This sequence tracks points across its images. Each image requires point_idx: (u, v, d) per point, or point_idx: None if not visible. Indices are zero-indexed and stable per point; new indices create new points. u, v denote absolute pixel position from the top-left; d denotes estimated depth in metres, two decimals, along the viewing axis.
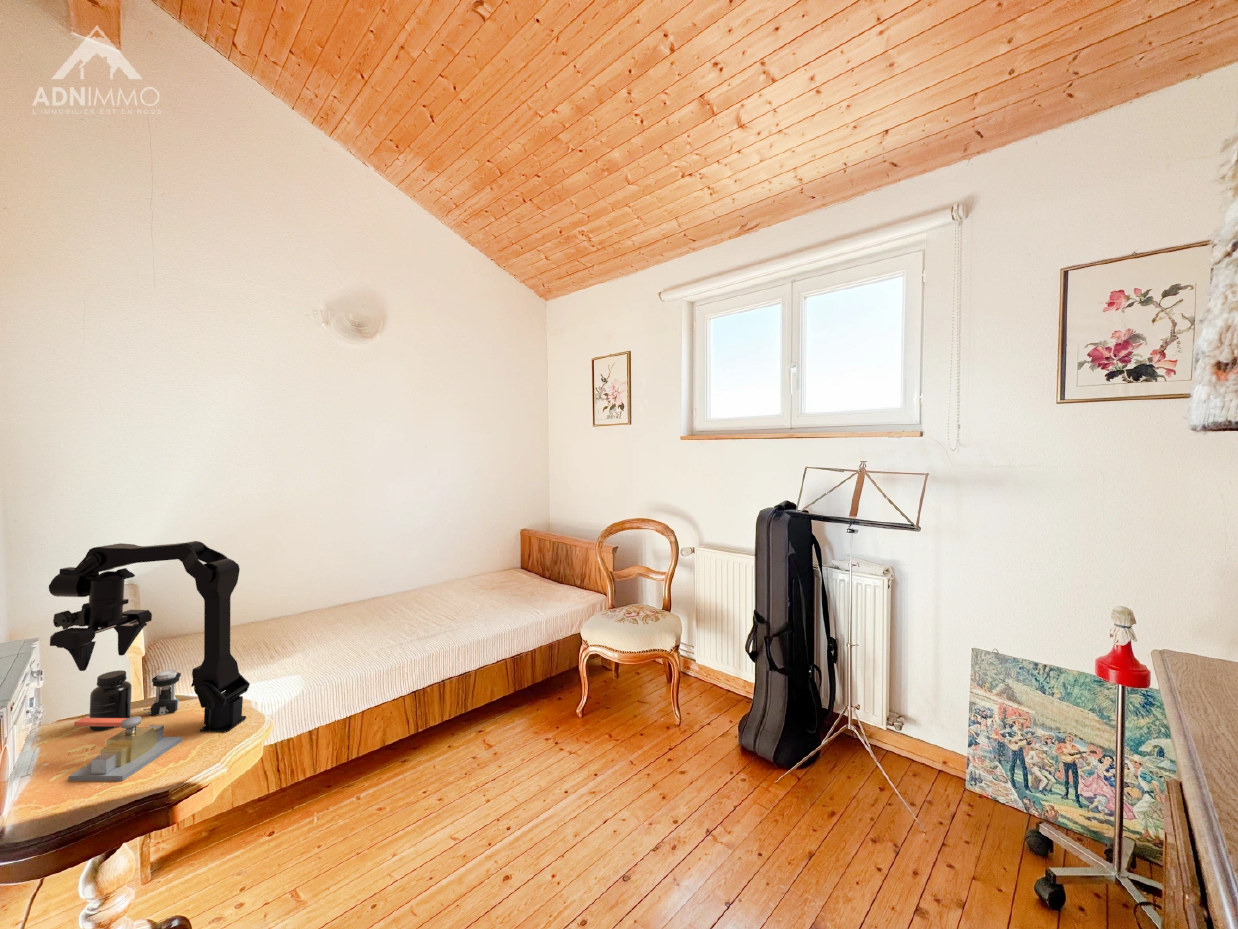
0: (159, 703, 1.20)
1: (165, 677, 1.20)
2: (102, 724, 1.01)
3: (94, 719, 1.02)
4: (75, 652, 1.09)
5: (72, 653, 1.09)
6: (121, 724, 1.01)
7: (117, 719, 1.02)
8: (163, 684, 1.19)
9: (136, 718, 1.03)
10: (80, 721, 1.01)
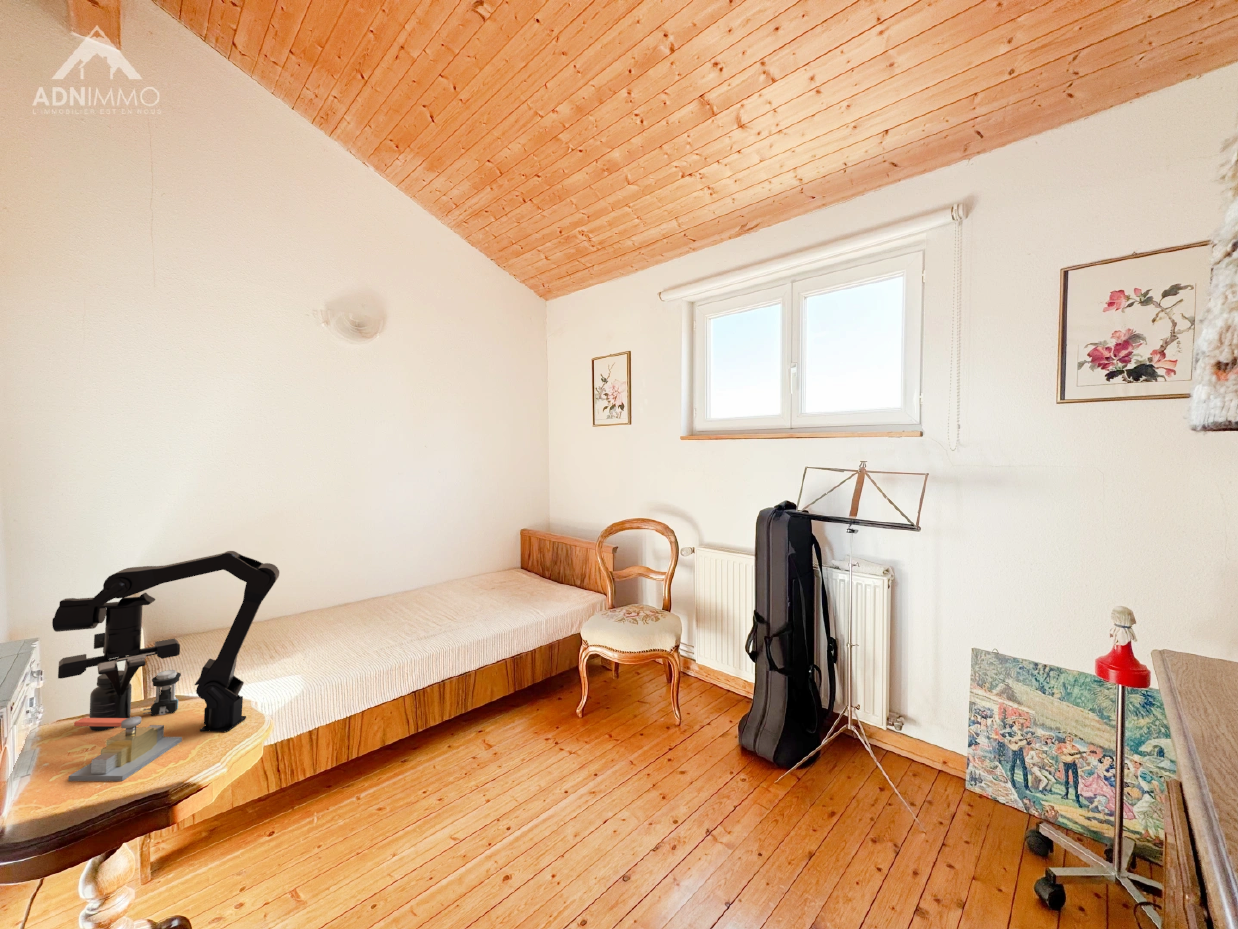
0: (159, 703, 1.20)
1: (165, 677, 1.20)
2: (102, 724, 1.01)
3: (94, 719, 1.02)
4: None
5: None
6: (121, 724, 1.01)
7: (117, 719, 1.02)
8: (163, 684, 1.19)
9: (136, 718, 1.03)
10: (80, 721, 1.01)
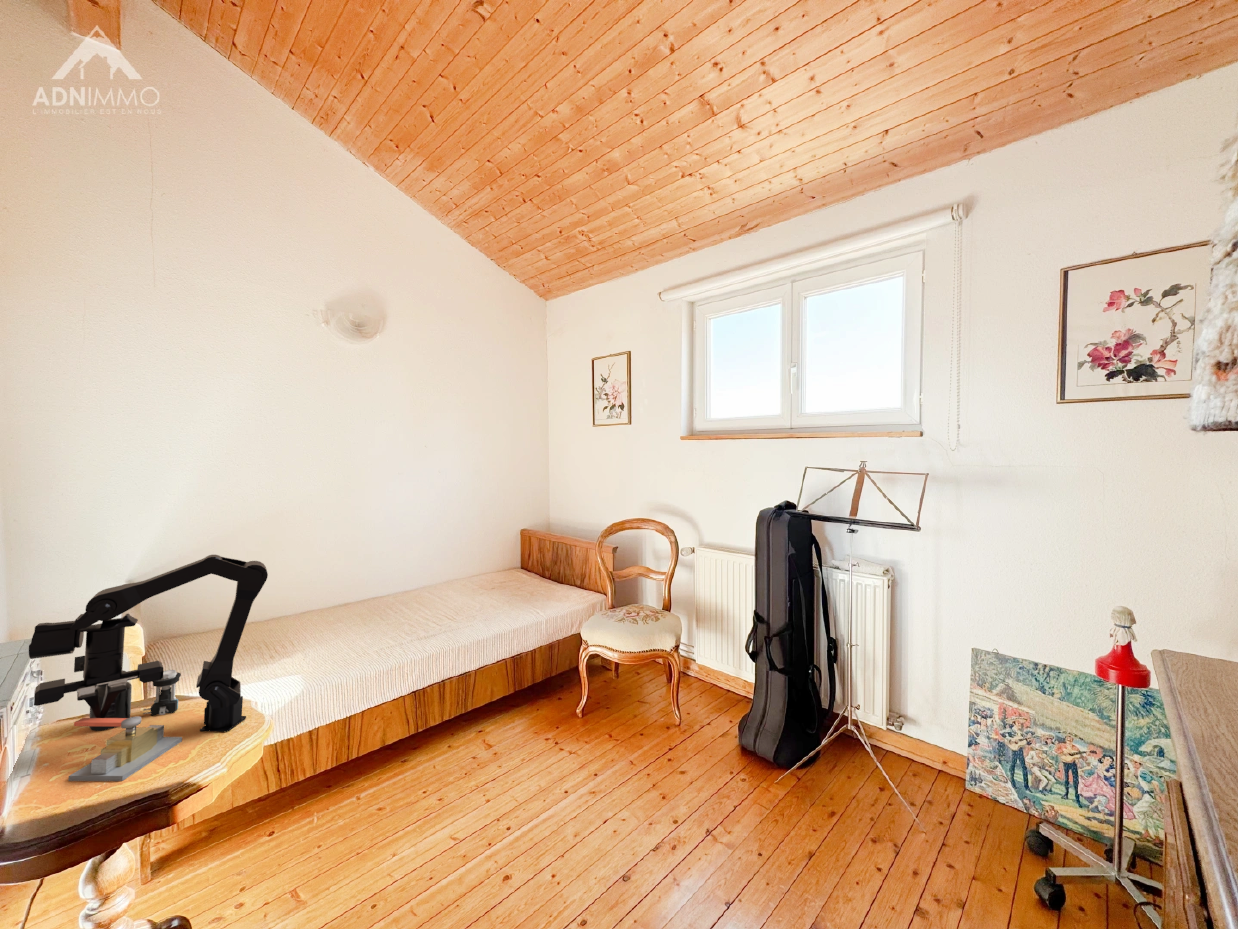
0: (159, 703, 1.20)
1: (165, 677, 1.20)
2: (102, 724, 1.01)
3: (94, 719, 1.02)
4: None
5: None
6: (121, 724, 1.01)
7: (117, 719, 1.02)
8: (163, 684, 1.19)
9: (136, 718, 1.03)
10: (80, 721, 1.01)
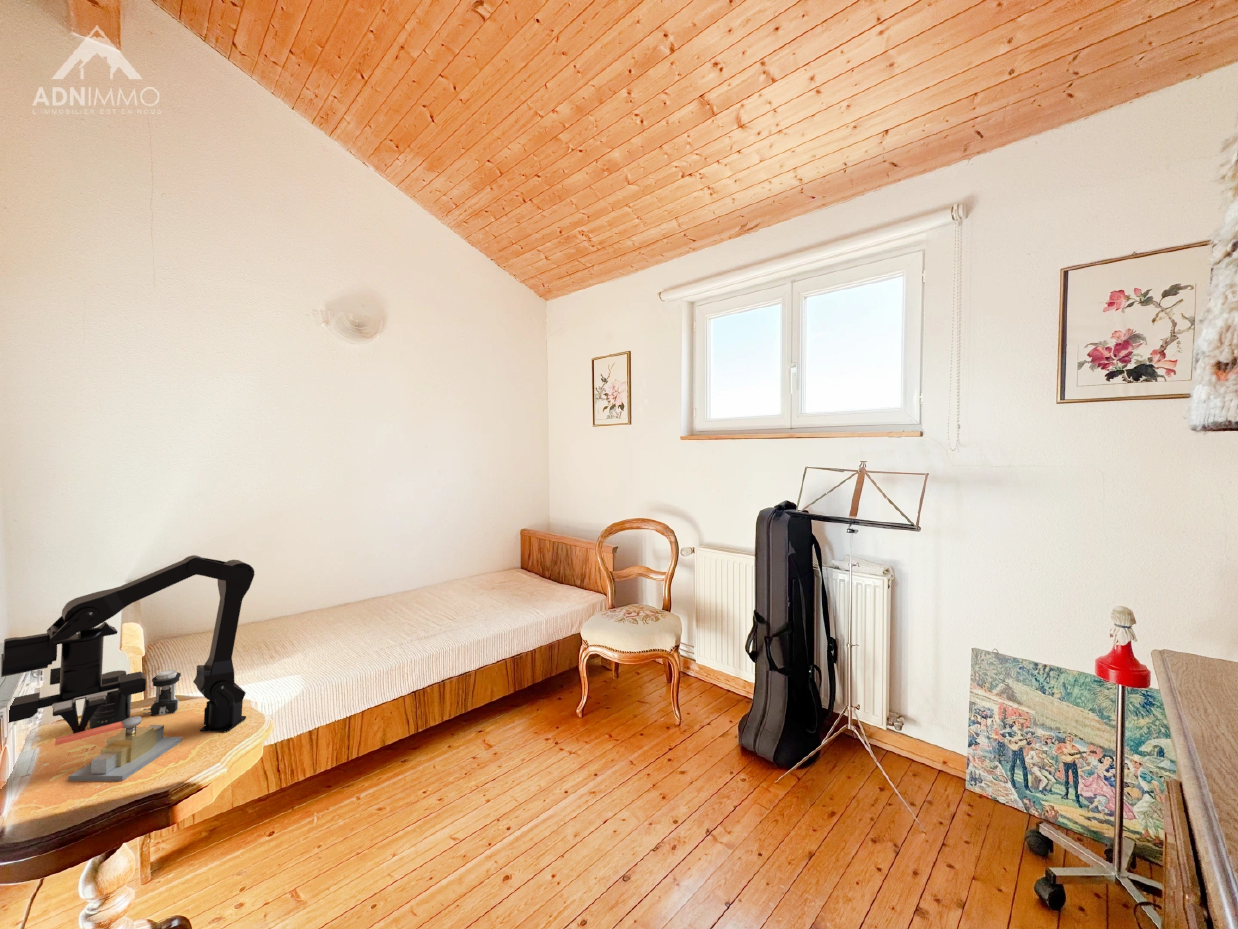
0: (159, 703, 1.20)
1: (165, 677, 1.20)
2: (97, 732, 0.98)
3: (77, 733, 0.96)
4: None
5: None
6: (125, 725, 1.01)
7: (110, 725, 1.00)
8: (163, 684, 1.19)
9: (134, 718, 1.03)
10: (63, 739, 0.94)
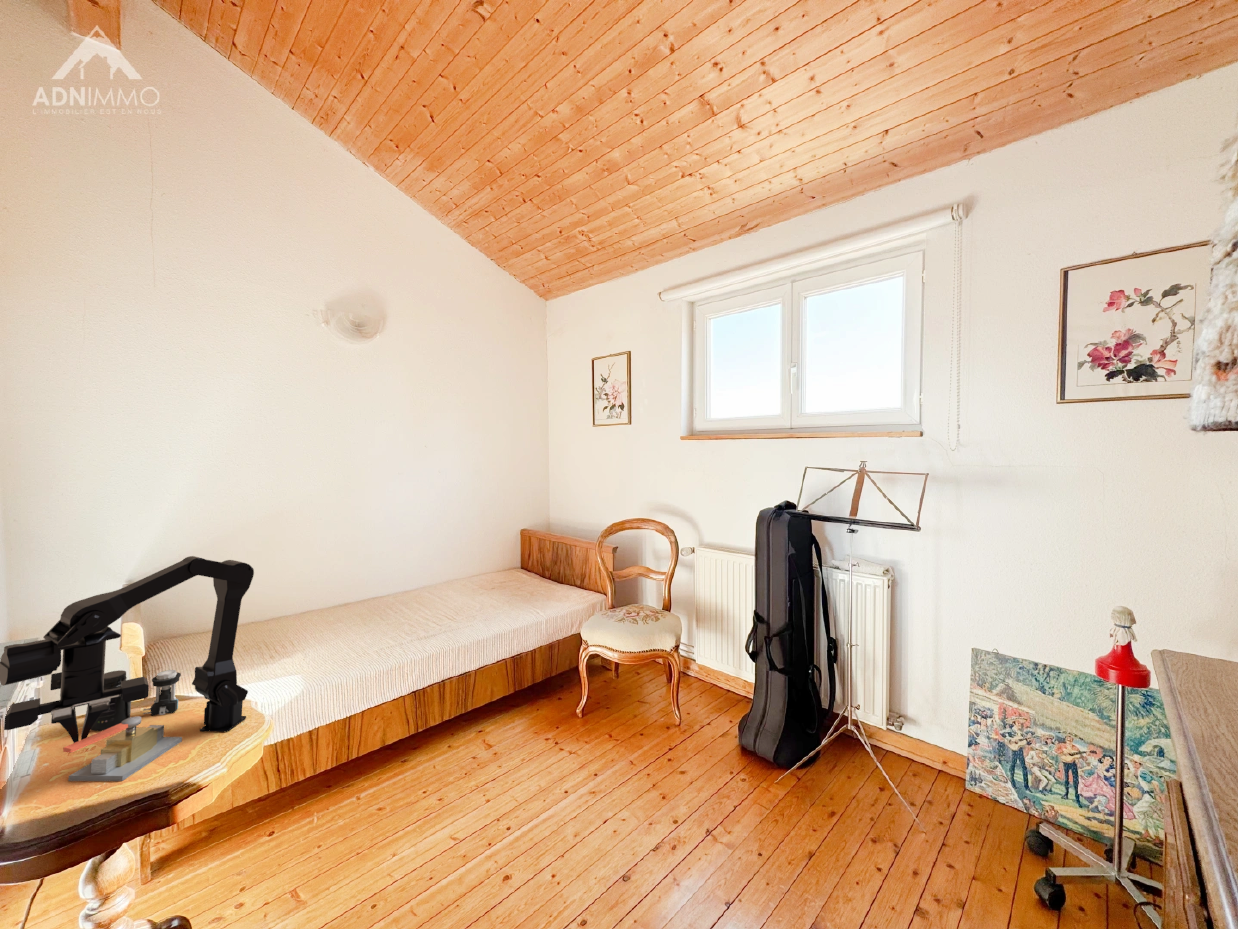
0: (159, 703, 1.20)
1: (165, 677, 1.20)
2: (106, 735, 0.97)
3: (84, 739, 0.95)
4: None
5: None
6: (130, 724, 1.01)
7: (112, 727, 0.99)
8: (163, 684, 1.19)
9: (132, 718, 1.03)
10: (76, 745, 0.93)
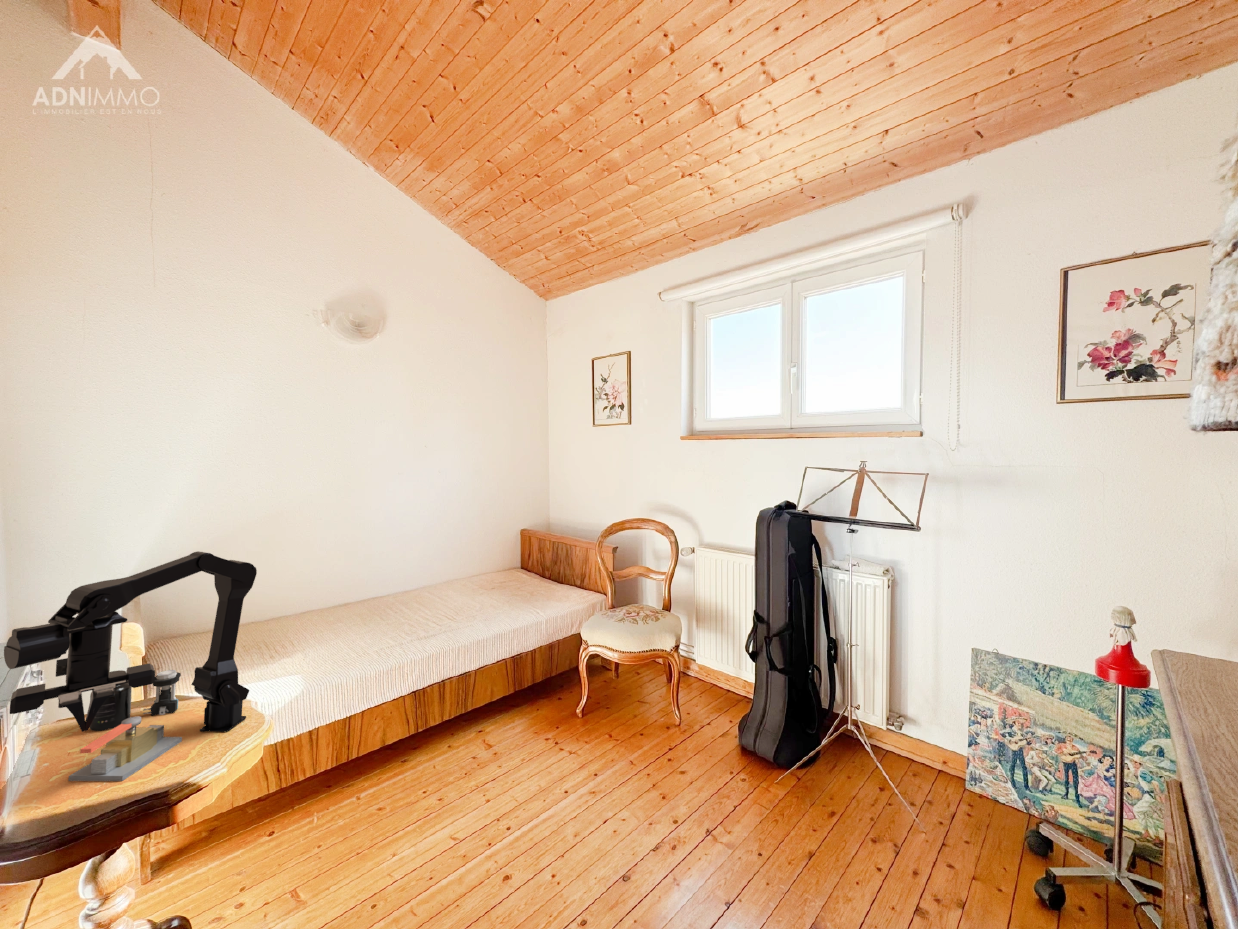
0: (159, 703, 1.20)
1: (165, 677, 1.20)
2: (116, 735, 0.97)
3: (97, 740, 0.94)
4: None
5: None
6: (134, 723, 1.01)
7: (117, 728, 0.99)
8: (163, 684, 1.19)
9: (130, 718, 1.02)
10: (94, 745, 0.93)
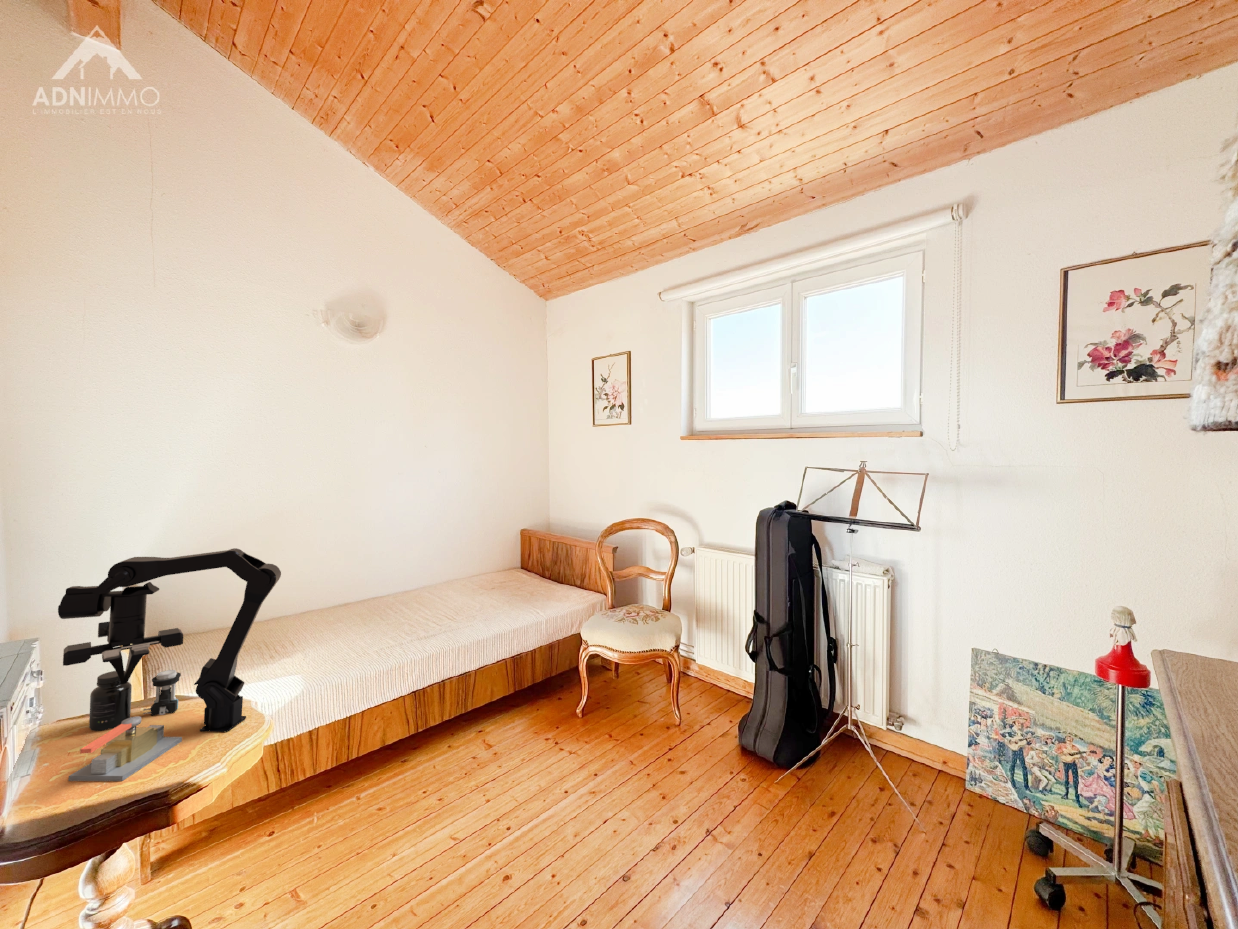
0: (159, 703, 1.20)
1: (165, 677, 1.20)
2: (116, 735, 0.97)
3: (97, 740, 0.94)
4: None
5: None
6: (134, 723, 1.01)
7: (117, 728, 0.99)
8: (163, 684, 1.19)
9: (130, 718, 1.02)
10: (94, 745, 0.93)
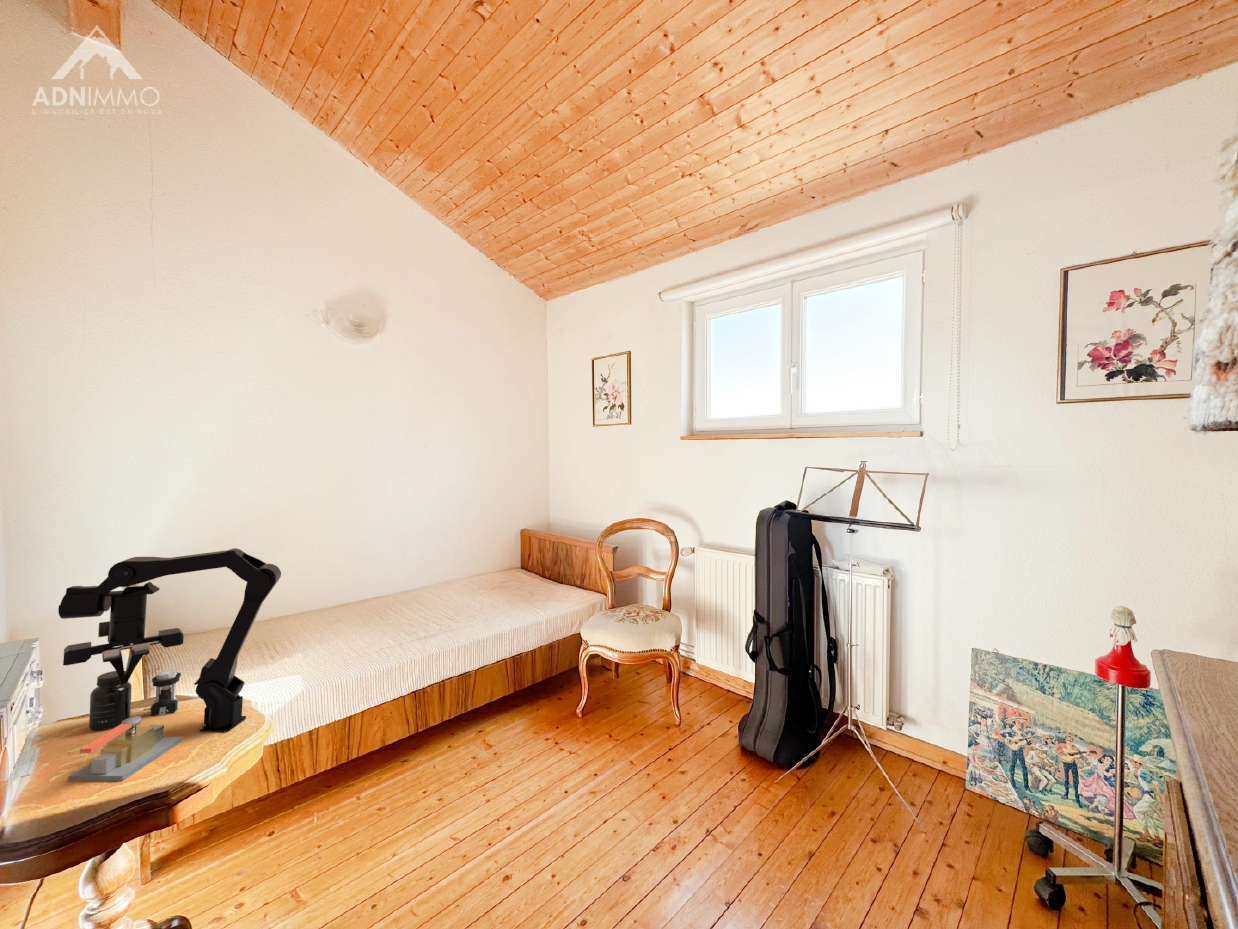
0: (159, 703, 1.20)
1: (165, 677, 1.20)
2: (116, 735, 0.97)
3: (97, 740, 0.94)
4: None
5: None
6: (134, 723, 1.01)
7: (117, 728, 0.99)
8: (163, 684, 1.19)
9: (130, 718, 1.02)
10: (94, 745, 0.93)
